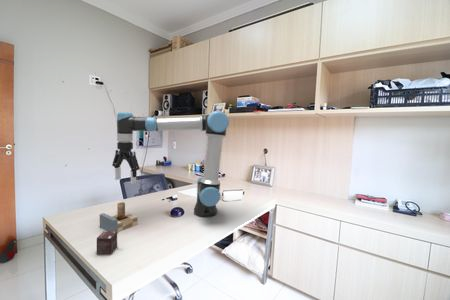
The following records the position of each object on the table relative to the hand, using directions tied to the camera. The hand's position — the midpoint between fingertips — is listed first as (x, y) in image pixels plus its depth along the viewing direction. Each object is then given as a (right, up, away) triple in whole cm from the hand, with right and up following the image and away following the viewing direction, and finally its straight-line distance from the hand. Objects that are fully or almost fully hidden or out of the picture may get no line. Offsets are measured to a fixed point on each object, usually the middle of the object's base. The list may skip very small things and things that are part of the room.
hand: (125, 181), depth 112 cm
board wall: (0, -24, +3) cm, 25 cm away
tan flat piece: (-2, -24, -1) cm, 24 cm away
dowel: (-2, -24, -1) cm, 24 cm away
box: (+3, -27, -23) cm, 35 cm away
